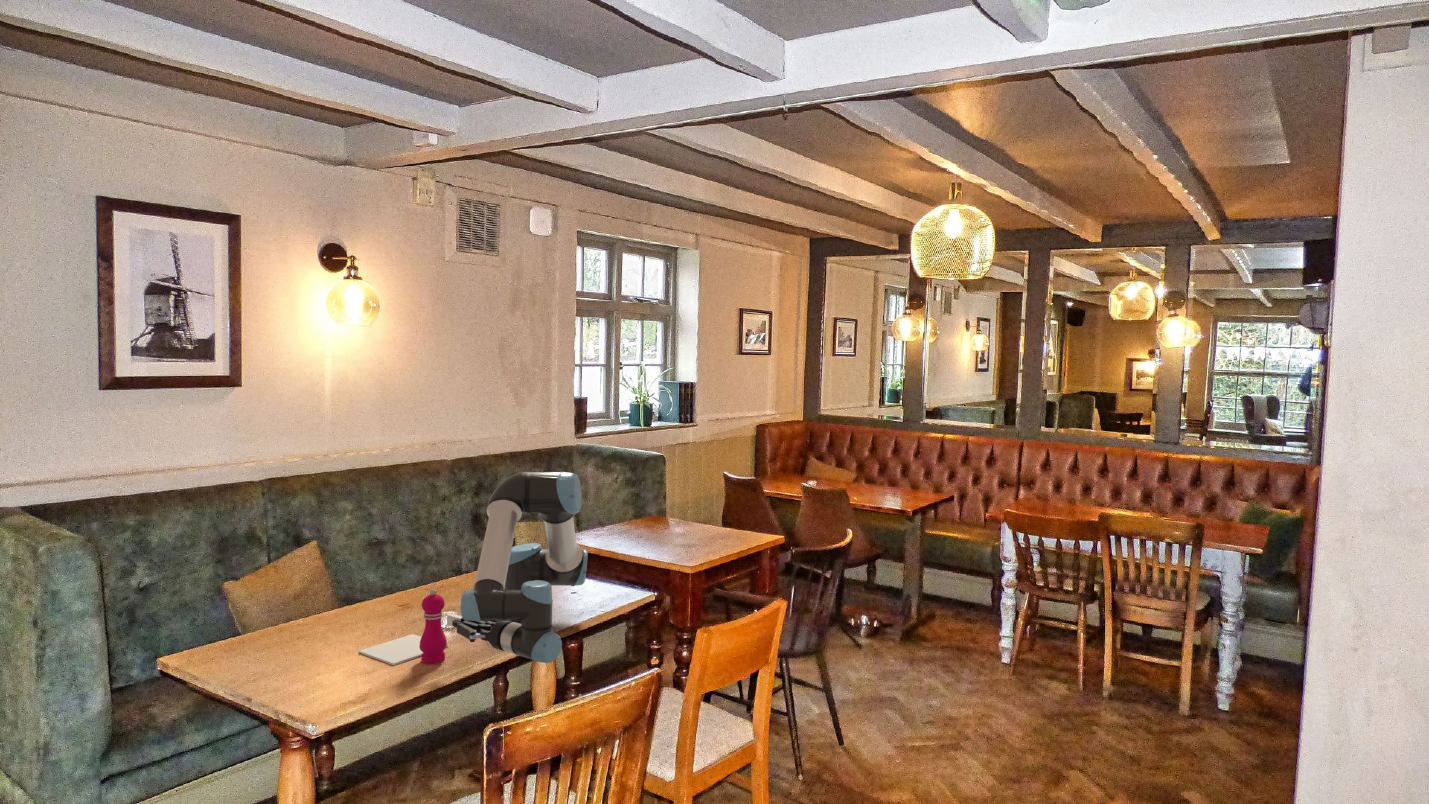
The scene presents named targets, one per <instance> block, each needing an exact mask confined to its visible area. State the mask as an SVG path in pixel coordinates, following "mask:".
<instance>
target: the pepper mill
mask: <svg viewBox="0 0 1429 804" xmlns="http://www.w3.org/2000/svg"><path fill="white" fill-rule="evenodd" d="M437 592H438V591H437V590H436V588H432V589H430V591H429V594H428V595H426V596H424V598H423V599H422V601H421V609H422V610H423V611H424V612H423V619H424V620H425V621H424V622H425V623H424V624H425V625H424V630H423V633H422V635H421V640H420V646H419V647H420V650H421V651H422V652H423V653H422V655H421V656H420V661H421V663H423V664H427V665H435V663H436V664H439V662H440V663H442V662H444V661H445V660H446V652H445V651H444V650H445V649H446V646H447V645H448V642H447V637H446V634H445V633H444V630H443V628H442V617H443V615H444V614H443V612H444V611H442V610H443V609H444V608H445V604H446V603H445V599H444V597H443V596H442V595H440V594H437Z"/></svg>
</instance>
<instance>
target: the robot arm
mask: <svg viewBox="0 0 1429 804" xmlns="http://www.w3.org/2000/svg"><path fill="white" fill-rule="evenodd" d="M582 494H583V493H582V486H581V481H580V478H579V476H578V475H577V473H575V472H574V473H573V472H567V471H560V472H559V471H558V472H557V471H546V472H544V471H542V472H540V471H537V472H536V471H535V472H534V471H521V472H517V473H515V474H512V475H510V476H509V477H507V478H506V479H504V480H503V481H502V482H501V483H500V484H499V485H498V486H497V487H496V488H495V489H494V491H493V493H492V494H491V496H490V498H489V500H488V504H487V507H486V514H487V517H488V521H487V524H486V529H485V533H484V539H483V542H482V547H481V552H480V555H479V556H480V557H479V561H478V566H477V571H476V576H475V580H474V583H473V589H472V588H471V589H466V590H464V591H463V592H462V594H461V598H460V615H458V614H454V613H449V614H447V615H446V624H447V626H451V627H454V628H456V634H459V635H461V636H463V637H464V638H466V639H468V640H469V642H470V643H475V642H476V640H477V639H481V640H482V641H486V642H488V643H489V644H490V645H491V647H492V648H494V649H496V650H499V651H502V652H505V653H506V652H507V653H510V654H513V655H515V656H517V657H518V656H520V657H521V658H522V657H523V658H524V659H525V658H526V659H529V660H532V661H533V662H539V663H544V664H550V663H552V662H554V661H555V660H557V659H558V657H559V655H560V654H561V651H562V647H563V640H562V639H561V636H560V635H559V634H557V633H556V632H554V631H553V600H554V599H553V589H552V586H553V587H554V586H555V587H556V586H557V587H558V586H559V587H560V586H561V587H562V586H563V587H564V586H570V587H577V586H582V585H584V584H585V582H586V578H587V577H586V576H587V568H588V567H587V566H588V553H589V552H588V549H585V548H582V547H581V546H580V544H579V543H577V537H576V529H575V527H576V526H575V520H574V516H575V515H576V514H578V513H580V511H581V509H582V502H583V500H582V498H583V495H582ZM523 514H537V515H538V517H539V518H540V519H541V520H542V521H543V522H544V527H545V532H546V533H545V534H546V539H547V545H548V547H547V548H543V547H542V545H541V544H540V543H534V542H532V543H522V544H518V545H514V546H513V544H514V538H515V533H516V527H517V523H518V522H519V520H521V518H522V515H523Z"/></svg>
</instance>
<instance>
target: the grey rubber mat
mask: <svg viewBox="0 0 1429 804" xmlns="http://www.w3.org/2000/svg"><path fill="white" fill-rule="evenodd" d="M421 637H422V635H421V636H420V635H417V634H414V633H411V634H408V635H405V636H402V637H398V638H395V639H393V640H389V641H386V642H383V643H380V644H376V645H372V646H370V647H367V648H364V649H360V650H358V654H360V653H361V654H360V655H364V656H366V657H369V658H371V659H375V660H377V661H380V662H383V663H386V664H387V665H392V666H396V665H400V664H402V663H405V661H406V662H409V661H410V660H411V659H412V660H415V659H417V658H420V657H421V655H422V653H423V652H422V651H421V650H420V647H419V646H420V640H421ZM446 647H447V648H448V644H447V646H446ZM419 656H420V657H419Z"/></svg>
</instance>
